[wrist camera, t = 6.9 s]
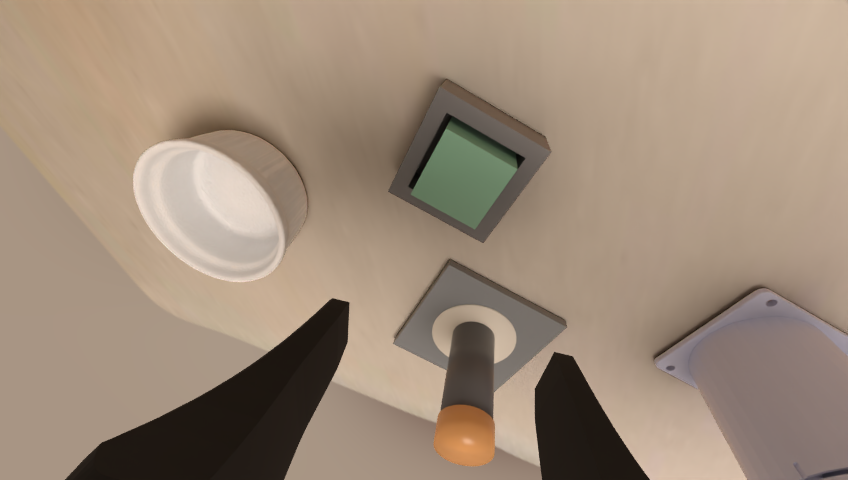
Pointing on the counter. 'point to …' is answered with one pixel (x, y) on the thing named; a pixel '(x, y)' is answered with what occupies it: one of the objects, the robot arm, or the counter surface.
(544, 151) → the button housing
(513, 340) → the grey square plate
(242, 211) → the ramekin
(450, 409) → the cylinder
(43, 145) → the counter surface
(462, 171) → the button
